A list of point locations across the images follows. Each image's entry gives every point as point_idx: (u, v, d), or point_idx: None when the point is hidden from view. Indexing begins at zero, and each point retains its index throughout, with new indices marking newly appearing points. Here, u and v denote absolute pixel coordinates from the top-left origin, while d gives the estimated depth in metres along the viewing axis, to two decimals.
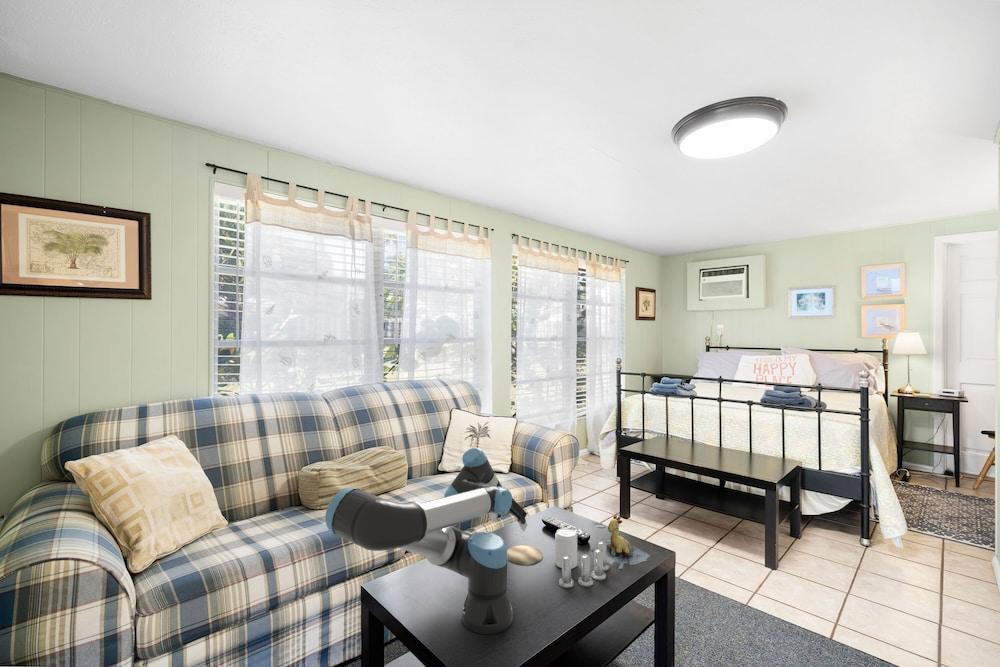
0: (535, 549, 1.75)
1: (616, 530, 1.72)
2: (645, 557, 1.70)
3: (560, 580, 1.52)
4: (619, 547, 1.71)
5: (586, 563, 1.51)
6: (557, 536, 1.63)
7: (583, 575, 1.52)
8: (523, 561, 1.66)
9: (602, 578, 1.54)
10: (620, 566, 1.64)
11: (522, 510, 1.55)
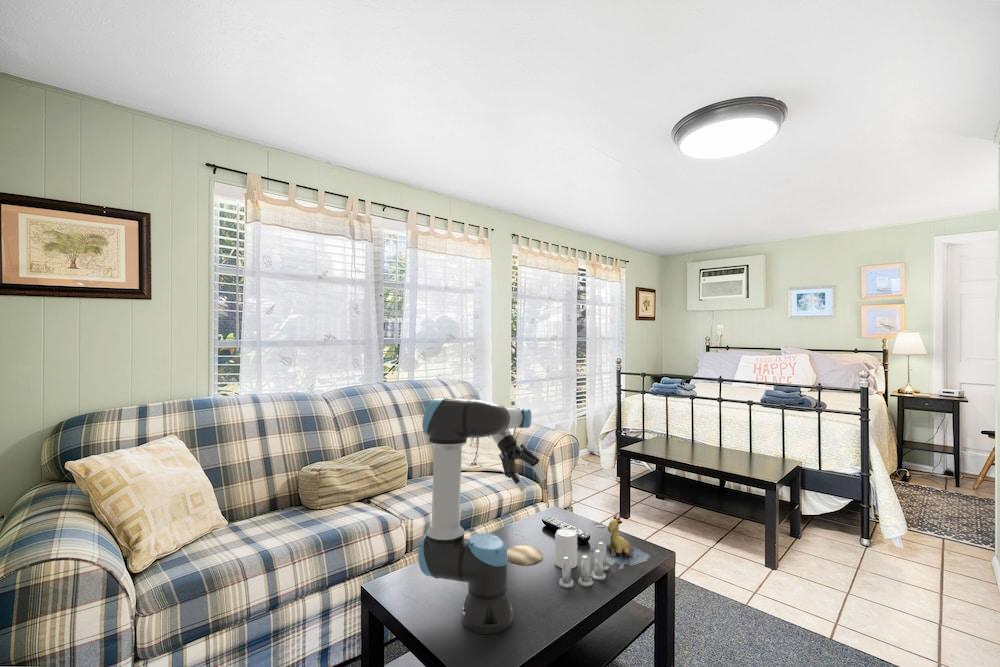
0: (535, 549, 1.75)
1: (616, 530, 1.72)
2: (645, 557, 1.70)
3: (560, 580, 1.52)
4: (619, 547, 1.70)
5: (586, 563, 1.51)
6: (557, 536, 1.63)
7: (583, 575, 1.52)
8: (523, 561, 1.66)
9: (602, 578, 1.54)
10: (620, 566, 1.63)
11: None
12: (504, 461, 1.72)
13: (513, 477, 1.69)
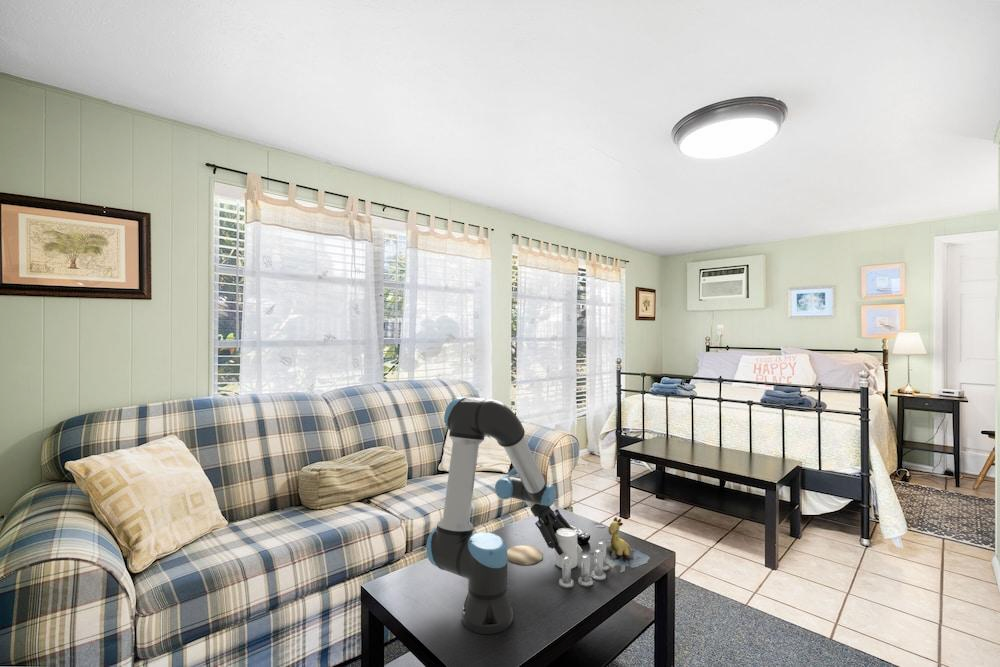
0: (535, 549, 1.75)
1: (617, 532, 1.70)
2: (646, 559, 1.69)
3: (560, 580, 1.52)
4: (620, 550, 1.69)
5: (586, 563, 1.51)
6: (557, 536, 1.63)
7: (583, 575, 1.52)
8: (523, 561, 1.66)
9: (602, 578, 1.54)
10: (622, 569, 1.62)
11: None
12: (543, 530, 1.63)
13: (556, 548, 1.60)
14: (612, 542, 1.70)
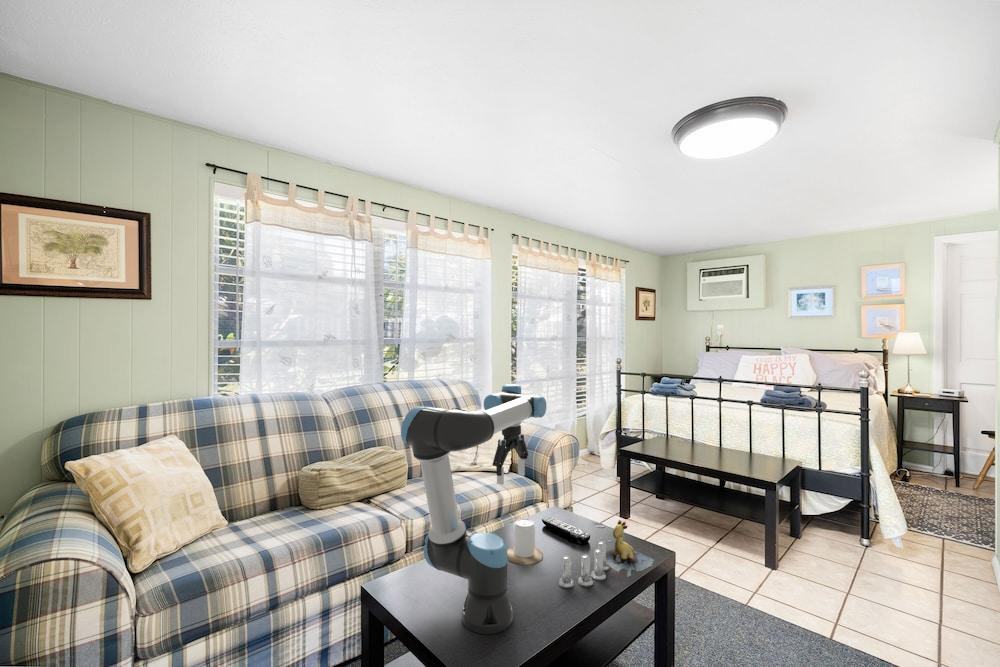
0: (535, 549, 1.75)
1: (621, 536, 1.67)
2: (650, 562, 1.67)
3: (560, 580, 1.52)
4: (624, 553, 1.66)
5: (586, 563, 1.51)
6: (515, 526, 1.70)
7: (583, 575, 1.52)
8: (523, 561, 1.66)
9: (602, 578, 1.54)
10: (628, 573, 1.59)
11: None
12: (499, 450, 1.67)
13: (498, 469, 1.66)
14: (616, 546, 1.67)
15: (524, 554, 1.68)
